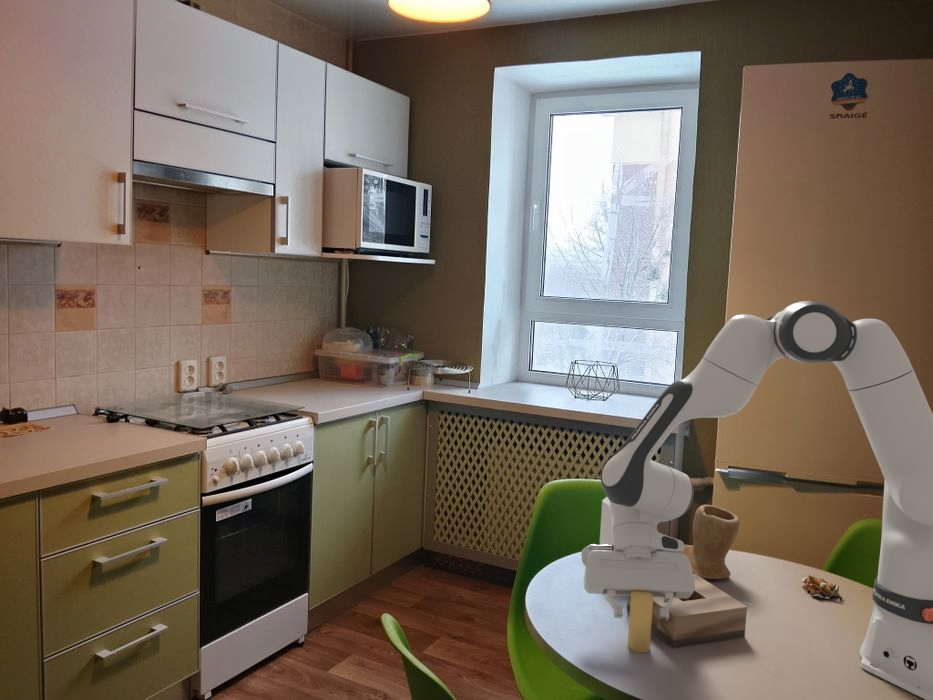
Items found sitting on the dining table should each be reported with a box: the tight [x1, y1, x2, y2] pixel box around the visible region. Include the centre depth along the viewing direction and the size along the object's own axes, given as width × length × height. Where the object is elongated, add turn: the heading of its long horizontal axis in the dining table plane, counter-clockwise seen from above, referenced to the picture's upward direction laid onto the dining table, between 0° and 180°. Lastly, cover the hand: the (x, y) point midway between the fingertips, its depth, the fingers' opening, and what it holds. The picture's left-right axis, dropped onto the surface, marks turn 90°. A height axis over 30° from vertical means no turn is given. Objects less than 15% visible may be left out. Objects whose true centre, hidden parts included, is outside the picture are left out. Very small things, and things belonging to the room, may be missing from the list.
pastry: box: [801, 574, 846, 602], centre depth 175 cm, size 7×12×4 cm, turn 1°
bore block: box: [626, 574, 748, 649], centre depth 155 cm, size 16×16×6 cm
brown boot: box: [683, 504, 740, 580], centre depth 182 cm, size 15×12×15 cm
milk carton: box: [599, 496, 613, 545], centre depth 181 cm, size 7×7×19 cm
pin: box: [627, 591, 653, 654], centre depth 145 cm, size 4×4×10 cm
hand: (641, 618), depth 144 cm, fingers open, 7 cm apart
